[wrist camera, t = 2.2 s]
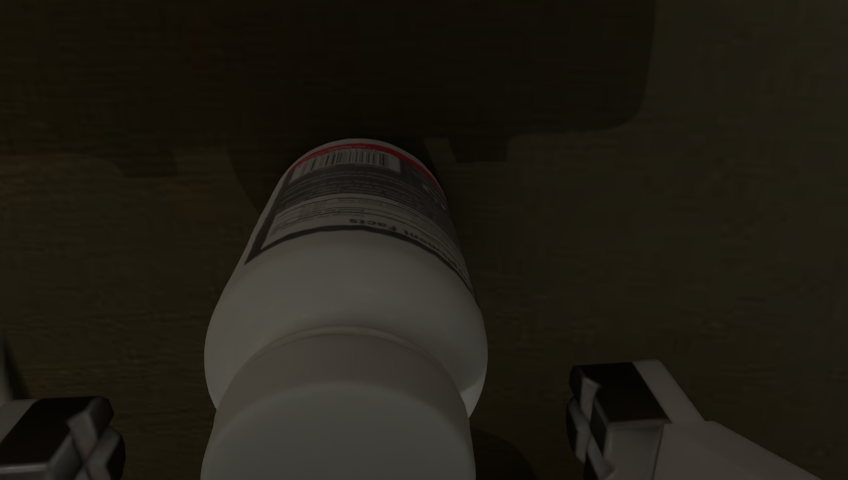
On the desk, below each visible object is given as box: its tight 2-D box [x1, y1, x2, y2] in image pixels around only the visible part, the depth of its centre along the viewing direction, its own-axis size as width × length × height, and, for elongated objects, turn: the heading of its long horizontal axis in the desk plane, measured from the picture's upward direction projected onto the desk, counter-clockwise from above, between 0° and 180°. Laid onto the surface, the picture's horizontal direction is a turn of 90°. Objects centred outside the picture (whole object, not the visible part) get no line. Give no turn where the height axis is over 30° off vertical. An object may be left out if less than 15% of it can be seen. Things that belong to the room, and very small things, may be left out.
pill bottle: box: [201, 139, 488, 480], centre depth 12 cm, size 5×5×10 cm
